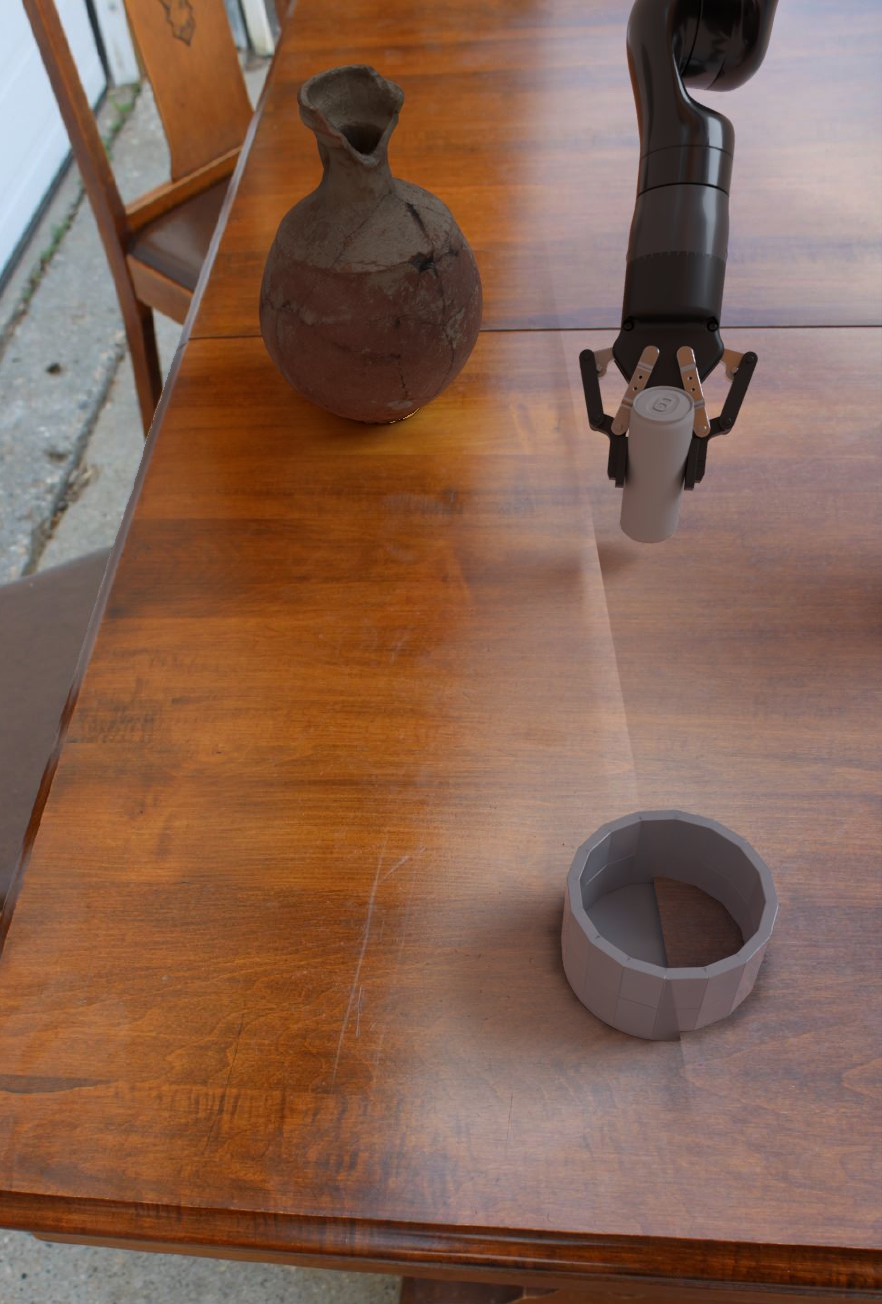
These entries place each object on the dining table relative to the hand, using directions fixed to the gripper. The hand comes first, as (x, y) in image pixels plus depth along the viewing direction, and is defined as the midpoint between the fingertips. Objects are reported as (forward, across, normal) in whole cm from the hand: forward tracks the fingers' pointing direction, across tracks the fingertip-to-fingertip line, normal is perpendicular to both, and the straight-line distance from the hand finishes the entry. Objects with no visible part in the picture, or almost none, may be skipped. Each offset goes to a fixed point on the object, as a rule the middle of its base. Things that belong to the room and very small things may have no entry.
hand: (654, 487), depth 95 cm
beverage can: (+3, 0, +6) cm, 6 cm away
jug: (-11, -28, +25) cm, 39 cm away
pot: (+33, +3, -20) cm, 39 cm away
